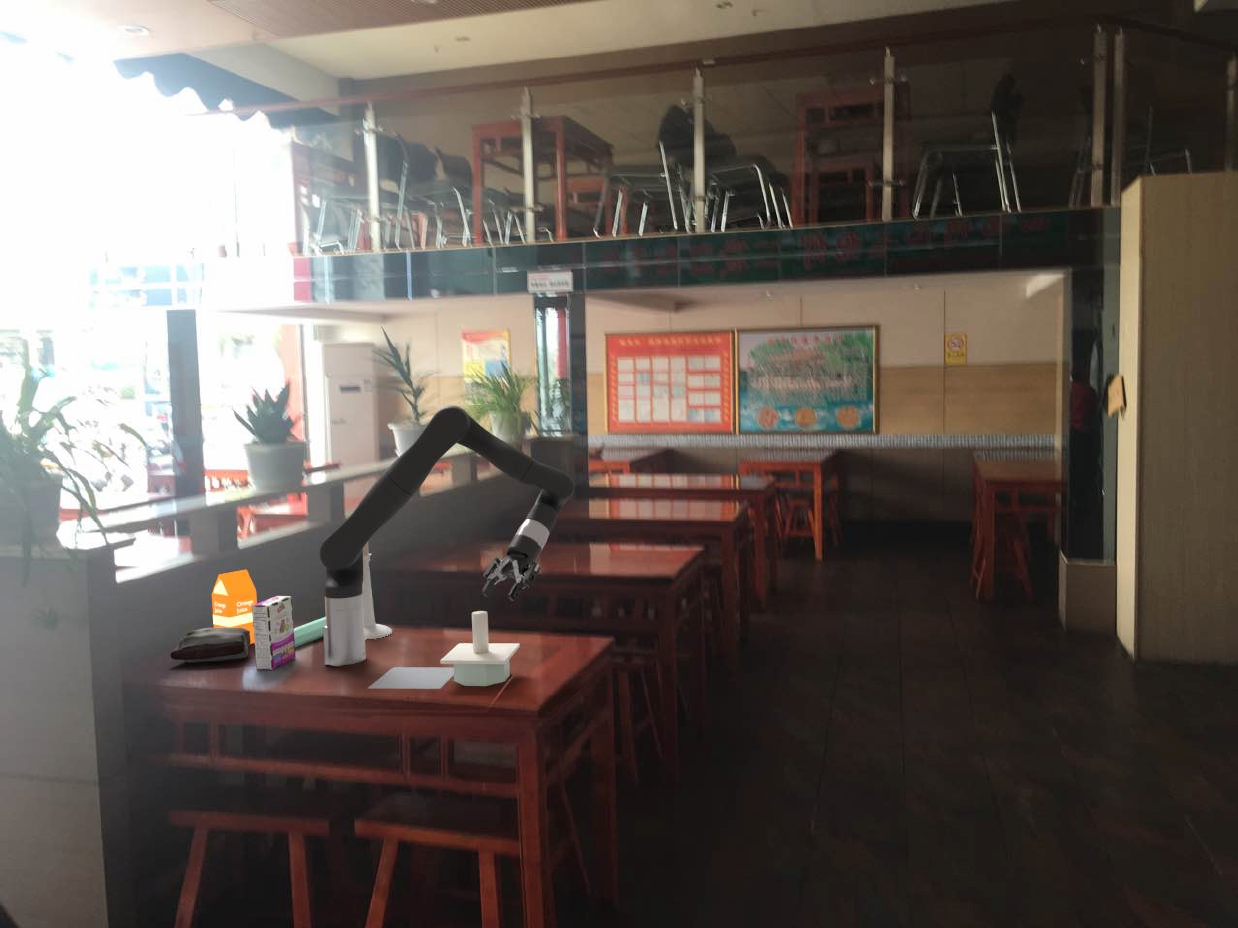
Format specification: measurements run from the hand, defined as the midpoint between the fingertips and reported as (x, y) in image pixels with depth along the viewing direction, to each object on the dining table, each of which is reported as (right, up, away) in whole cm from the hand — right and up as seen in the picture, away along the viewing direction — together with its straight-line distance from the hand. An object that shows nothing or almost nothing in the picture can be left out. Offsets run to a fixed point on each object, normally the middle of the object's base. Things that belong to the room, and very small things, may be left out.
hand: (497, 597), depth 232 cm
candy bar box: (-58, -19, +16) cm, 63 cm away
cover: (-3, -13, -4) cm, 14 cm away
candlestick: (-42, -17, +44) cm, 63 cm away
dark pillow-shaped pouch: (-76, -20, +21) cm, 81 cm away
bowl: (-3, -19, -3) cm, 20 cm away
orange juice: (-77, -18, +38) cm, 88 cm away
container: (-58, -18, +38) cm, 71 cm away
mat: (-19, -19, -2) cm, 27 cm away
